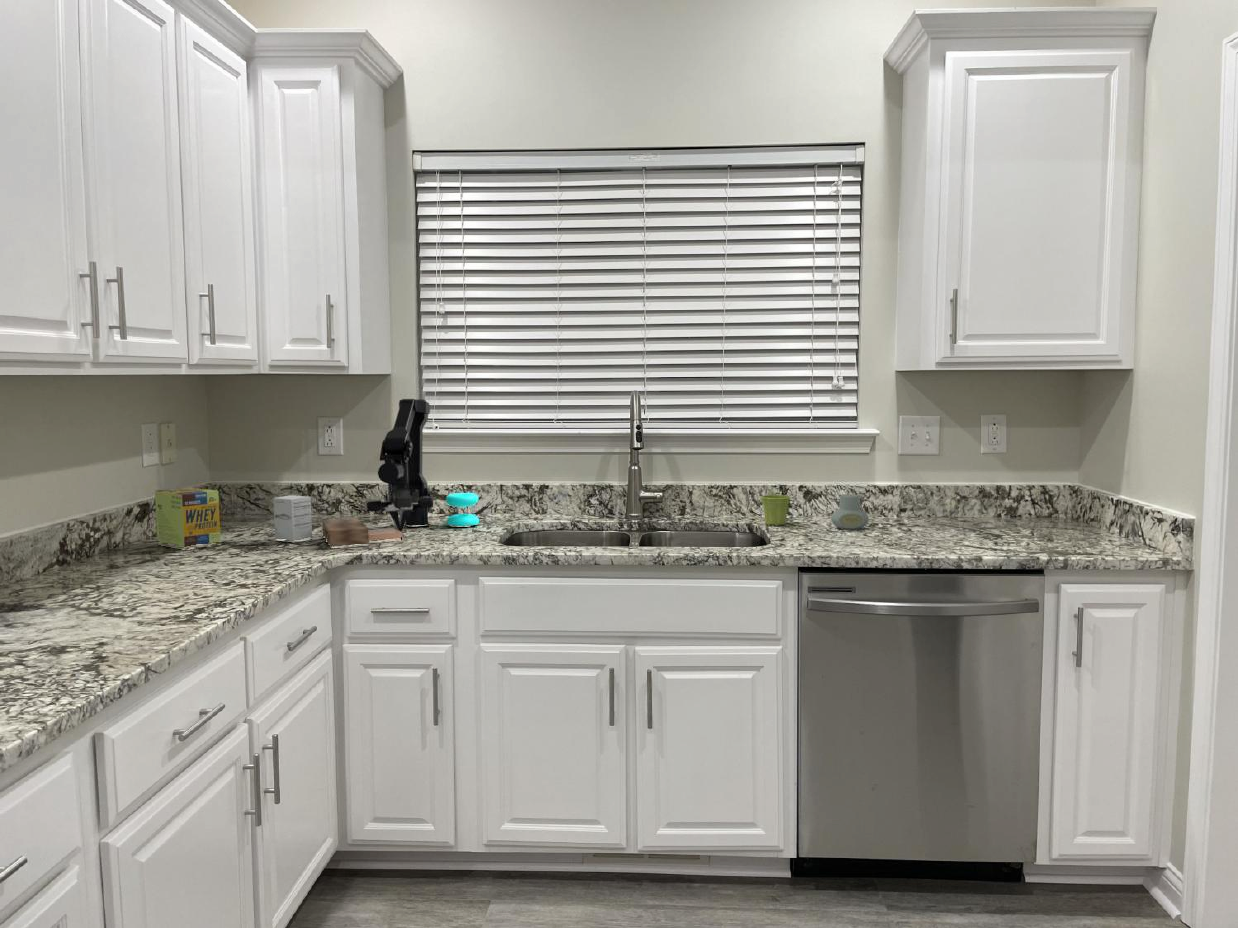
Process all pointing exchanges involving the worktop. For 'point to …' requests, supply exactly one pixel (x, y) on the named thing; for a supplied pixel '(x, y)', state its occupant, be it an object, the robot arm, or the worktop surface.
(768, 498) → the plant pot
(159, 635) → the worktop surface
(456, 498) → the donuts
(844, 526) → the air freshener
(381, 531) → the tile
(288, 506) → the supplement box
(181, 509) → the protein box
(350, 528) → the shelf
